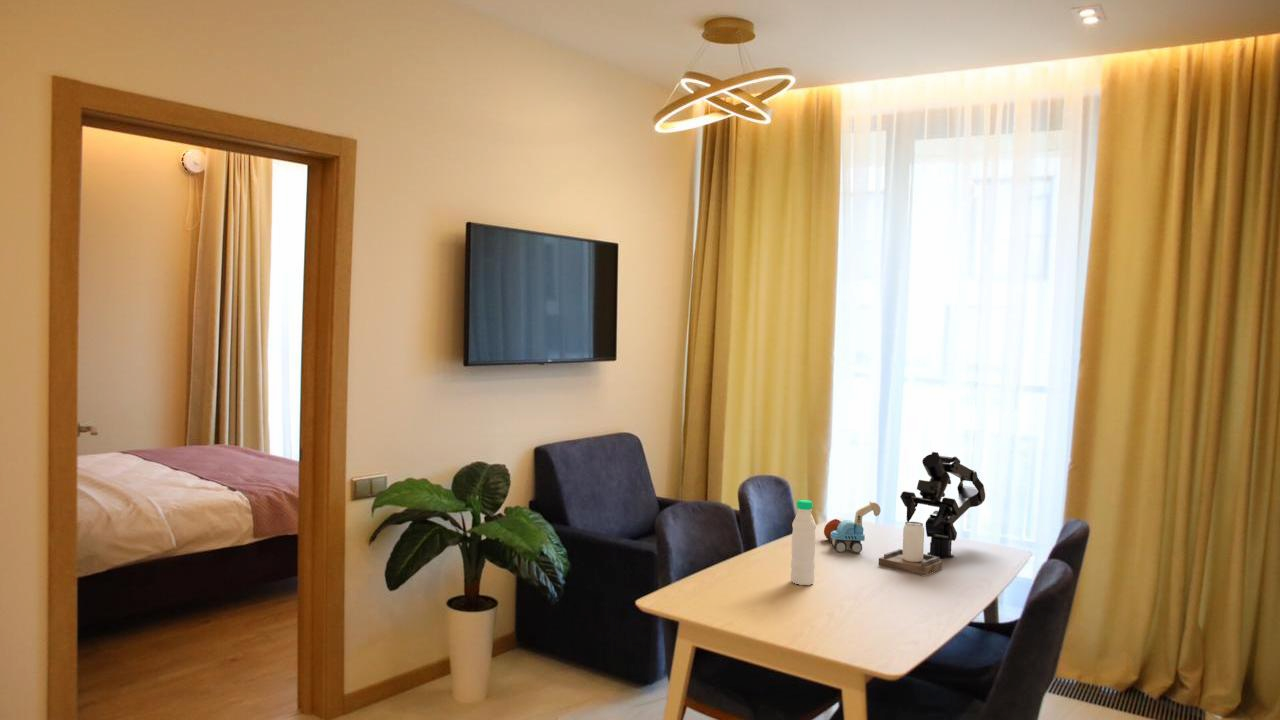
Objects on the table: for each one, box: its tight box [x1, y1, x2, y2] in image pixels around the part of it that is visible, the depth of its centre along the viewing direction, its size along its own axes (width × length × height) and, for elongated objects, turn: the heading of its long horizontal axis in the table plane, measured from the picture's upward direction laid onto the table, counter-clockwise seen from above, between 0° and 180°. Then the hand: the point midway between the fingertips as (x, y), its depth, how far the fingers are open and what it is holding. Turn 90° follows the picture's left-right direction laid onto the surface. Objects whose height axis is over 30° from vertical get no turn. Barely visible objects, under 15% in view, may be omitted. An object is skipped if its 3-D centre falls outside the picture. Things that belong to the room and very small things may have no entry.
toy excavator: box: [829, 501, 881, 554], centre depth 316 cm, size 9×17×17 cm, turn 89°
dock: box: [878, 548, 943, 577], centre depth 296 cm, size 12×16×4 cm
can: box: [902, 521, 925, 562], centre depth 295 cm, size 6×6×12 cm
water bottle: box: [790, 499, 817, 586], centre depth 275 cm, size 7×7×25 cm
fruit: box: [823, 518, 842, 541], centre depth 329 cm, size 9×9×8 cm
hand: (920, 523), depth 299 cm, fingers open, 9 cm apart
